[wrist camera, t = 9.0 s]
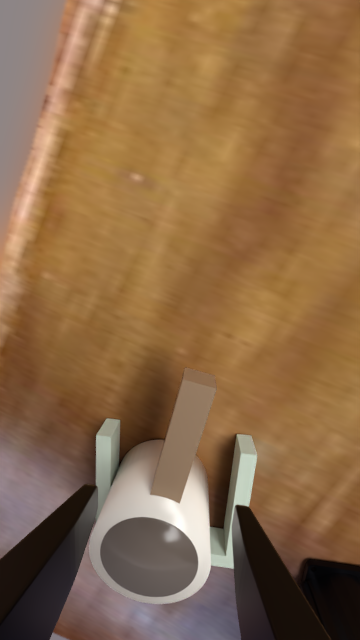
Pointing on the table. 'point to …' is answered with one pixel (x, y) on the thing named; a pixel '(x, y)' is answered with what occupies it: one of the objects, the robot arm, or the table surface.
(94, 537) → the saucepan
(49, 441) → the table surface
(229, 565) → the u-shaped frame
